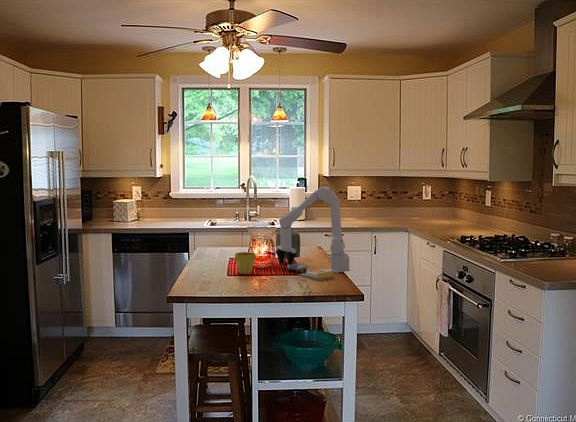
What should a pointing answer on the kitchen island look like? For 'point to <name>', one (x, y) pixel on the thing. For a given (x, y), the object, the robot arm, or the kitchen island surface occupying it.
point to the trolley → (296, 267)
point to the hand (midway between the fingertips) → (285, 264)
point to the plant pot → (245, 262)
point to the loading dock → (318, 275)
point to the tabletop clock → (294, 243)
